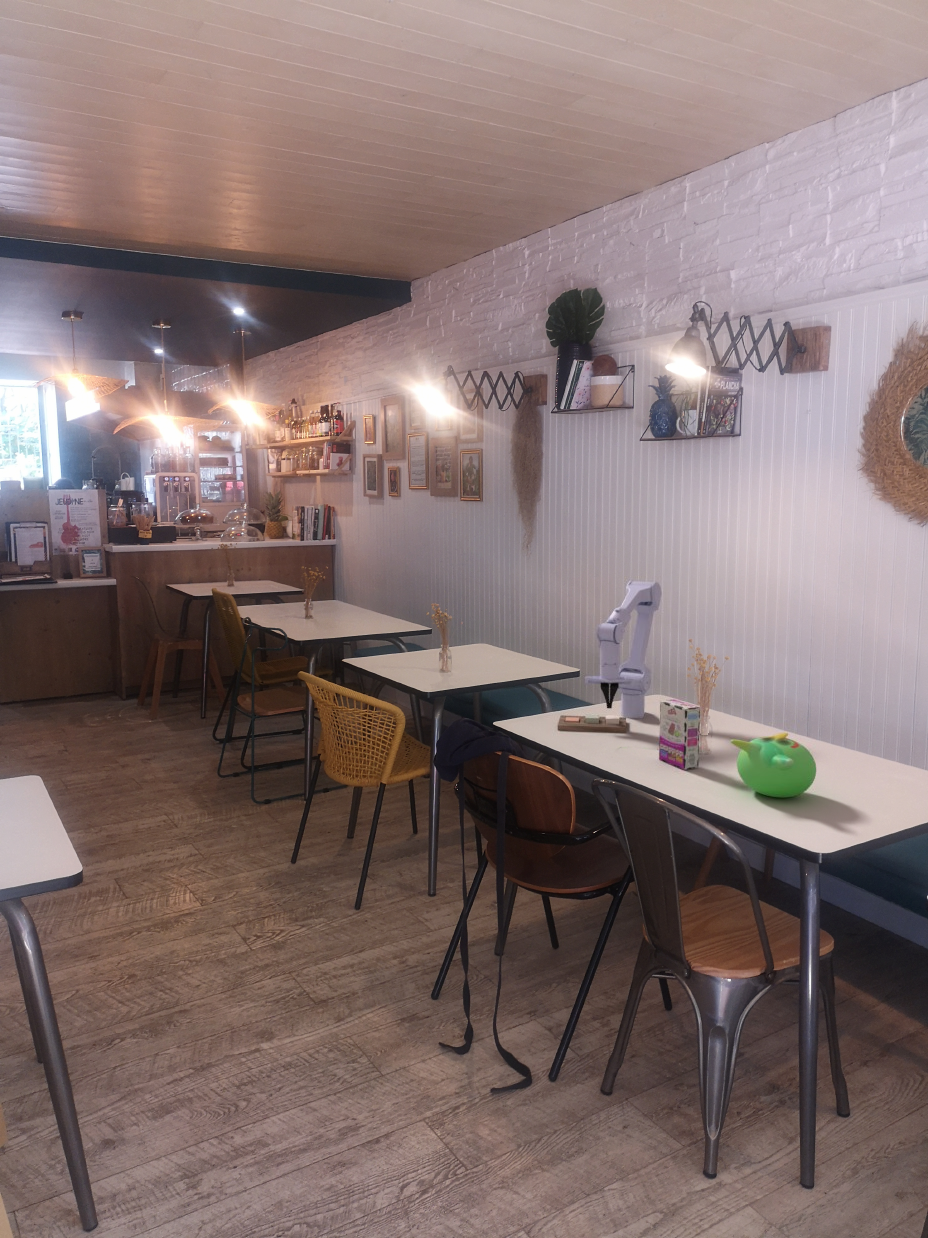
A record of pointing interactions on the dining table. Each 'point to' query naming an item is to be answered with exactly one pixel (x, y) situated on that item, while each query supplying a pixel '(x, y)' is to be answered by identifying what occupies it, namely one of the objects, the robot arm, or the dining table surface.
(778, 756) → the toy bird
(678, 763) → the candy bar box
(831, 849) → the dining table surface
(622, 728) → the button panel
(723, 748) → the dining table surface
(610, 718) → the cream button
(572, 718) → the terracotta button
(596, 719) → the sage button
